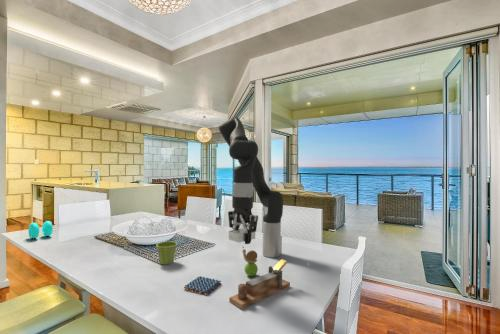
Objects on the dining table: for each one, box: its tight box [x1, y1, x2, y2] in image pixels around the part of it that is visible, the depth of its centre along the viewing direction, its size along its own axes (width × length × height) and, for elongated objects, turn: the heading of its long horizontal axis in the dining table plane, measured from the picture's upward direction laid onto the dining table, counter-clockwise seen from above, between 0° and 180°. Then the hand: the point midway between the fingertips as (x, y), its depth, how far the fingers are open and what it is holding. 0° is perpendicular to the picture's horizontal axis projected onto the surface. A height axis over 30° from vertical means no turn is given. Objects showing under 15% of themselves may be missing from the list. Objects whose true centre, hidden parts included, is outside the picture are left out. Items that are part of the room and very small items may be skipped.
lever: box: [271, 258, 288, 274], centre depth 94 cm, size 1×4×6 cm
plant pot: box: [155, 240, 178, 266], centre depth 116 cm, size 9×9×9 cm
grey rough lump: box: [228, 227, 256, 243], centre depth 90 cm, size 8×6×3 cm
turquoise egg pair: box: [28, 220, 54, 239], centre depth 155 cm, size 10×10×10 cm
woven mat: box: [183, 275, 222, 296], centre depth 92 cm, size 10×11×2 cm
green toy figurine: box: [242, 246, 259, 277], centre depth 103 cm, size 5×6×12 cm
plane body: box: [228, 266, 291, 310], centre depth 88 cm, size 24×6×7 cm, turn 132°
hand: (241, 241), depth 90 cm, fingers closed on grey rough lump, 5 cm apart
